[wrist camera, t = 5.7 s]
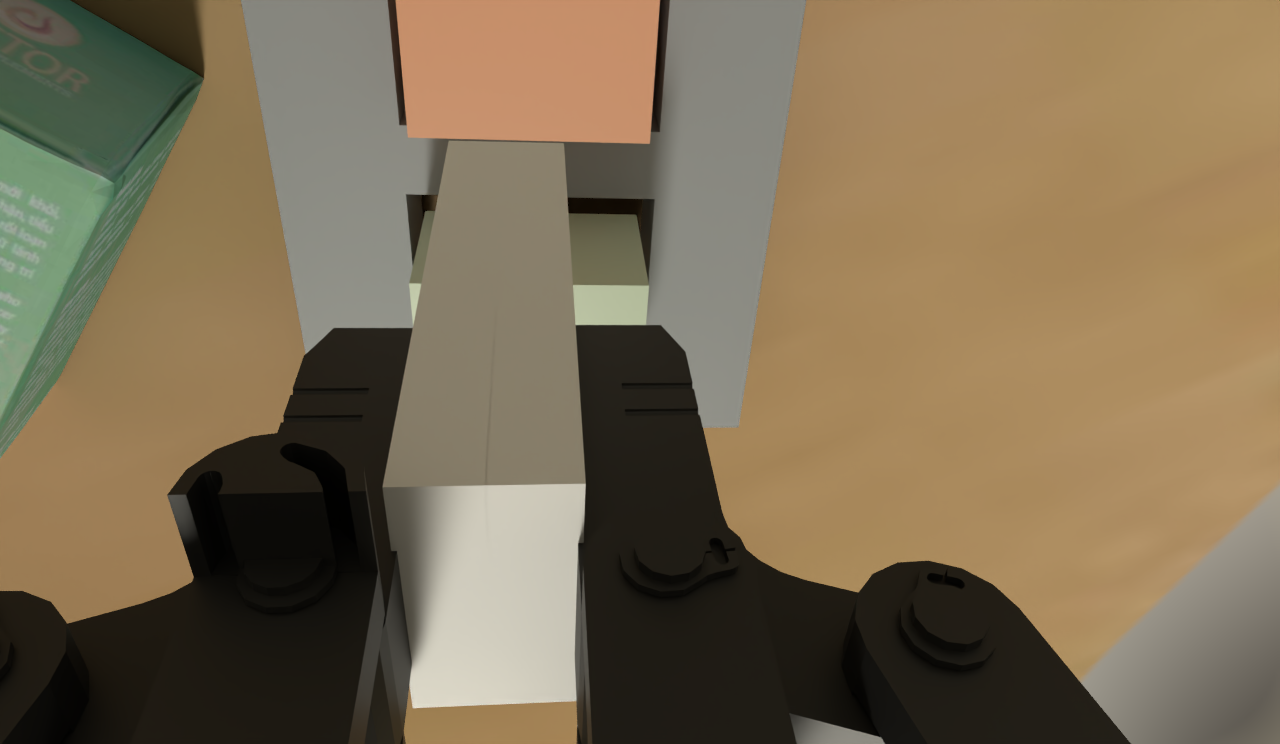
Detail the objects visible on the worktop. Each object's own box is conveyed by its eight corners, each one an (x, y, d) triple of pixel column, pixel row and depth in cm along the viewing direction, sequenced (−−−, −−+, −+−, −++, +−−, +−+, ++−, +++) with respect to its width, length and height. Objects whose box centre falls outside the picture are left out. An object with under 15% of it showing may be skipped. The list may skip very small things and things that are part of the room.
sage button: (439, 381, 30) (426, 464, 27) (425, 210, 26) (408, 283, 23) (625, 380, 30) (635, 462, 27) (636, 214, 27) (649, 286, 24)
